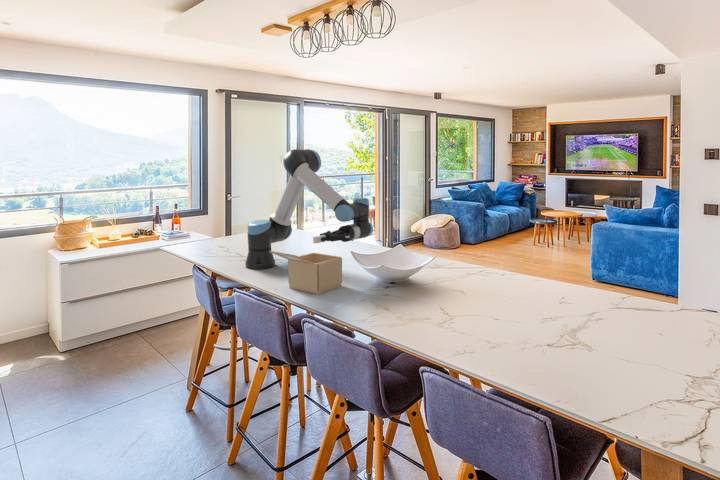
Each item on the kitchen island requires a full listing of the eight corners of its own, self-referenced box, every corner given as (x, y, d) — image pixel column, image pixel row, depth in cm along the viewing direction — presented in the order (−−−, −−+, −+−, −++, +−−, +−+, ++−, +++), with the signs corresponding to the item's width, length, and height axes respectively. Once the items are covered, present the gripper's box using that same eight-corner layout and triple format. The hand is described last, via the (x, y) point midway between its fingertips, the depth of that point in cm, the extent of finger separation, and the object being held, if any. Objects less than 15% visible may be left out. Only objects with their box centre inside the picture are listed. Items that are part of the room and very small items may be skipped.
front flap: (288, 259, 202) (269, 252, 192) (288, 258, 202) (269, 250, 192) (314, 264, 193) (295, 256, 184) (314, 263, 193) (295, 255, 184)
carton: (287, 287, 206) (287, 258, 203) (314, 279, 219) (313, 252, 217) (318, 295, 195) (318, 264, 193) (344, 285, 208) (344, 257, 206)
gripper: (359, 242, 218) (326, 250, 200) (337, 239, 226) (303, 246, 207) (359, 226, 217) (325, 233, 198) (337, 223, 224) (303, 230, 206)
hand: (314, 240), depth 203 cm, fingers closed
